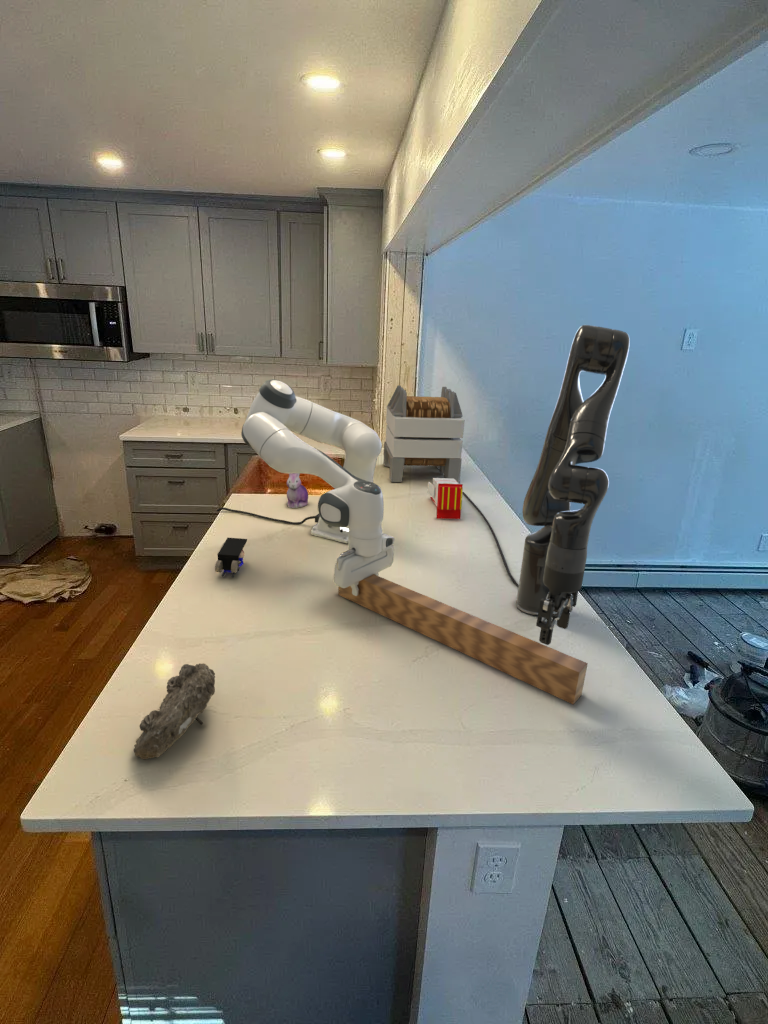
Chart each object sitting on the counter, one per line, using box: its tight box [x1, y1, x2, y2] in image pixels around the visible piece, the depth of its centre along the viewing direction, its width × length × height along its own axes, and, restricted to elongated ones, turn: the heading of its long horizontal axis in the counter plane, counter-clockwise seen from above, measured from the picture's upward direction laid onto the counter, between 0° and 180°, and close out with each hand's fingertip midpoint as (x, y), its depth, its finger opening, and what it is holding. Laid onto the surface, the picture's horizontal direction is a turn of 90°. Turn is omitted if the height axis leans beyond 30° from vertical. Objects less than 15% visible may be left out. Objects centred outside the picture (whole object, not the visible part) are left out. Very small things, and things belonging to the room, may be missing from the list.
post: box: [337, 574, 588, 706], centre depth 136 cm, size 67×4×8 cm, turn 50°
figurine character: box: [214, 537, 248, 578], centre depth 166 cm, size 7×8×15 cm
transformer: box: [383, 384, 465, 484], centre depth 268 cm, size 34×33×41 cm
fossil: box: [133, 663, 216, 760], centre depth 105 cm, size 22×10×15 cm
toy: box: [427, 477, 464, 520], centre depth 227 cm, size 12×13×30 cm
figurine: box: [286, 473, 309, 509], centre depth 221 cm, size 9×10×15 cm
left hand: (363, 590), depth 152 cm, fingers closed on post, 4 cm apart
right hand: (553, 634), depth 118 cm, fingers open, 8 cm apart
